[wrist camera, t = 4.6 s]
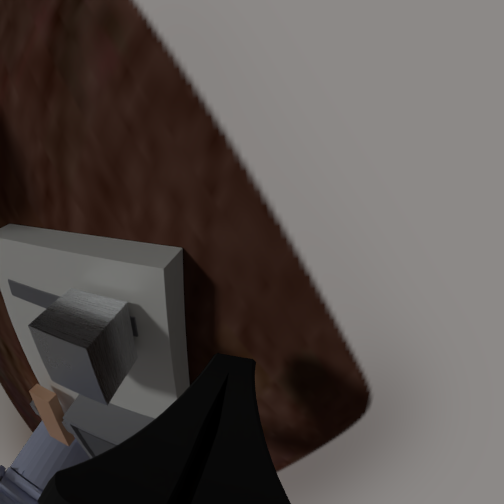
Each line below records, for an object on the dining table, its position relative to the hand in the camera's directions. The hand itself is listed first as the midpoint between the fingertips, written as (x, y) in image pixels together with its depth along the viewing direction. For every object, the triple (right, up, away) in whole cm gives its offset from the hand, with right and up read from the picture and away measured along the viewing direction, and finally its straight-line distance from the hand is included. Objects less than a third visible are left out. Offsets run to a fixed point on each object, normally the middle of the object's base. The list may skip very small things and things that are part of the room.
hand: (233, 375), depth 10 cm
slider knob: (-6, +1, +2) cm, 6 cm away
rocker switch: (-14, -8, +5) cm, 16 cm away
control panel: (-9, -3, +7) cm, 11 cm away
